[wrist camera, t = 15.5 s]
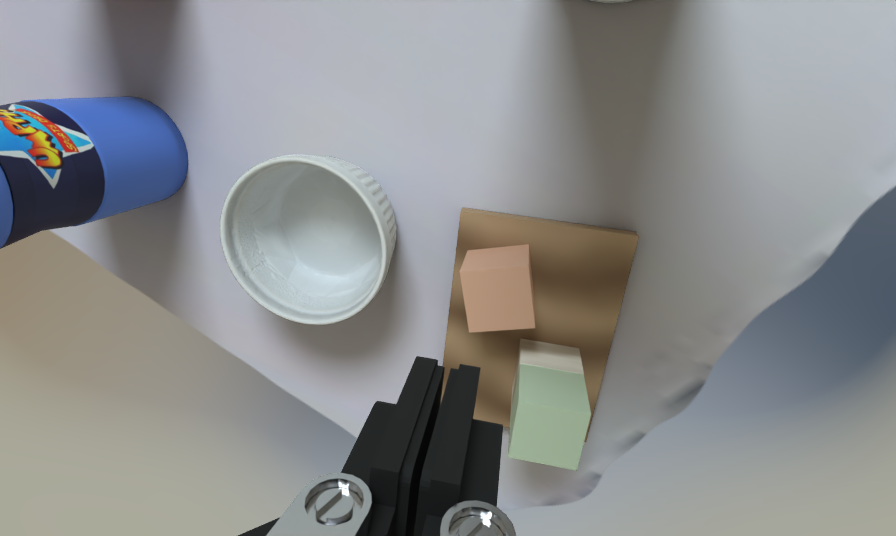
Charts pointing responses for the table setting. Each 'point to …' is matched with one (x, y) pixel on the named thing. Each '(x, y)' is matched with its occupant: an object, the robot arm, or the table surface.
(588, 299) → the build board
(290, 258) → the ramekin
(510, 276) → the terracotta block
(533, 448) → the green block
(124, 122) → the water bottle
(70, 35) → the table surface
